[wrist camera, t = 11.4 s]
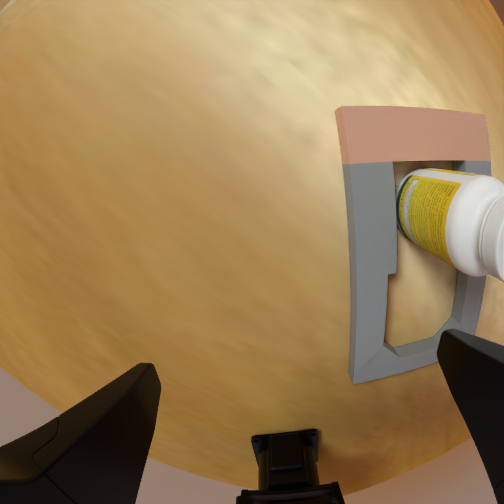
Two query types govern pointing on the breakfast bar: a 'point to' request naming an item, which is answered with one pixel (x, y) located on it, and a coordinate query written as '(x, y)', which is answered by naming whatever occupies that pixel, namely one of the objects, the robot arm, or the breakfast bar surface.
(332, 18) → the breakfast bar surface
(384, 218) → the keyhole board
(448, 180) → the supplement bottle
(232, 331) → the breakfast bar surface
